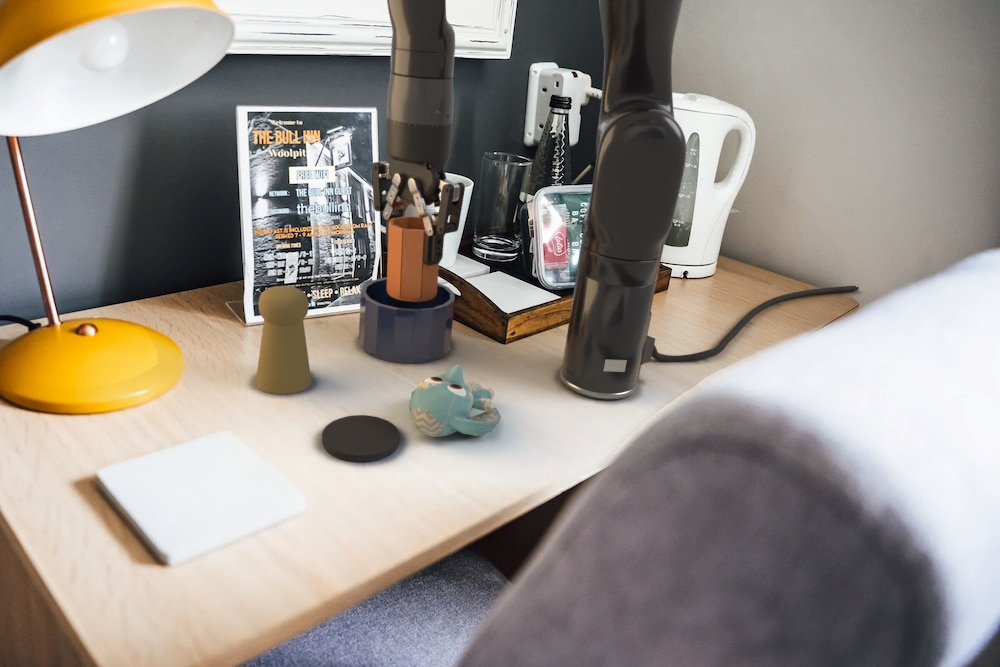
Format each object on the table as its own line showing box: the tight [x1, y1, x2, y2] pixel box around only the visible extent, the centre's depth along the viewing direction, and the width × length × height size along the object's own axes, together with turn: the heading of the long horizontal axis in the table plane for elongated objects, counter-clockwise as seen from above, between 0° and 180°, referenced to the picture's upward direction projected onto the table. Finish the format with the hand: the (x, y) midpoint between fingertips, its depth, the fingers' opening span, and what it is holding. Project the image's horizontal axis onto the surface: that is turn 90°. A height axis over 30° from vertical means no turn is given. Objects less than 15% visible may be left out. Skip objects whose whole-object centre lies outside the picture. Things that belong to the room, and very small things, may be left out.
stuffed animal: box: [408, 364, 502, 438], centre depth 81 cm, size 11×7×12 cm
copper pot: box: [386, 215, 440, 302], centre depth 95 cm, size 6×6×9 cm
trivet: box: [321, 414, 401, 463], centre depth 77 cm, size 8×8×1 cm
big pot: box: [358, 276, 456, 364], centre depth 98 cm, size 12×12×7 cm
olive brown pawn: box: [255, 285, 312, 395], centre depth 84 cm, size 6×6×11 cm
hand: (412, 255), depth 94 cm, fingers closed on copper pot, 6 cm apart
